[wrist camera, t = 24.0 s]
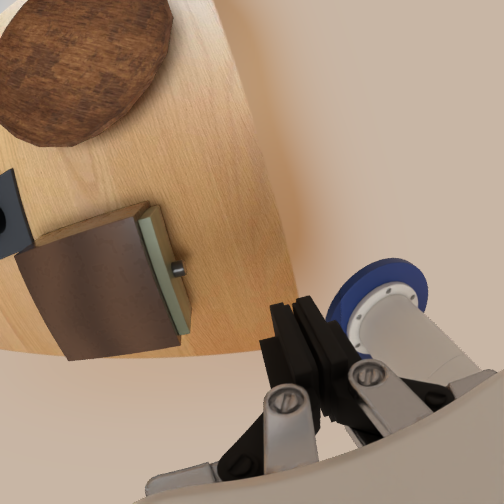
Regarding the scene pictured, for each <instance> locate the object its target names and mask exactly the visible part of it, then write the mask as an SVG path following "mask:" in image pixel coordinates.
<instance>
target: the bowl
mask: <svg viewBox="0 0 504 504" xmlns="http://www.w3.org/2000/svg"><path fill="white" fill-rule="evenodd" d="M172 22H173V15H172V13H171V10H170V7H169V4H168V1H167V0H28V1H27V2H26V3H25V4H24V5H23V6H22V7H21V8H20V10H19V11H18V12H17V13H16V15H15V16H14V17H13V19H12V20H11V22H10V23H9V24H8V26H7V27H6V29H5V30H4V32H3V34H2V36H1V38H0V124H1V125H2V126H3V127H4V128H5V129H7V130H8V131H9V132H10V133H11V134H12V135H14V136H15V137H16V138H18V139H21V140H23V141H26V142H28V143H31V144H33V145H36V146H38V147H72V146H74V145H77V144H79V143H81V142H83V141H85V140H87V139H90V138H92V137H94V136H96V135H99V134H101V133H102V132H103V131H105V130H106V129H107V128H108V127H110V126H111V125H112V124H114V123H115V122H116V121H118V120H119V119H120V118H122V117H123V116H124V115H126V114H127V112H128V111H129V110H130V108H131V107H132V106H133V105H134V103H135V102H136V101H137V100H138V99H139V97H140V96H141V95H142V94H143V93H144V91H145V90H146V89H147V88H148V87H149V86H150V84H151V82H152V80H153V78H154V76H155V75H156V73H157V71H158V69H159V67H160V65H161V63H162V62H163V60H164V58H165V56H166V54H167V52H168V46H169V39H170V33H171V28H172Z"/></svg>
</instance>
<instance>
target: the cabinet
mask: <svg viewBox="0 0 504 504" xmlns="http://www.w3.org/2000/svg"><path fill="white" fill-rule="evenodd" d="M148 208H150V204H149V201H145V202H141V203H138V204H134V205H131V206H128V207H124V208H121V209H118V210H115V211H111V212H108V213H105V214H102V215H99V216H96V217H93V218H90V219H87V220H84V221H81V222H78V223H75V224H72V225H69V226H67V227H64V228H61V229H58V230H56V231H53V232H50V233H47V234H45V235H42V236H41V237H40V238H38V239H37V240H35V241H34V242H33V243H31V244H30V245H28V246H27V247H26V248H24V249H23V250H22V251H20V252H19V253H17V254H16V255H15V256H14V258H15V260H16V263H17V265H18V268H19V270H20V272H21V275H22V277H23V279H24V282H25V284H26V286H27V288H28V290H29V292H30V294H31V296H32V299H33V301H34V303H35V305H36V306H37V308H38V310H39V312H40V314H41V316H42V318H43V320H44V322H45V323H46V325H47V327H48V329H49V330H50V332H51V334H52V336H53V337H54V339H55V341H56V342H57V344H58V345H59V347H60V349H61V350H62V352H63V353H64V355H65V357H66V358H67V360H68V361H75V360H85V359H94V358H103V357H111V356H118V355H125V354H132V353H139V352H145V351H152V350H158V349H164V348H169V347H175V346H180V345H181V335H179V333H178V331H177V328H176V326H175V324H174V321H173V319H172V316H171V314H170V311H168V308H167V306H166V303H165V301H164V298H163V295H162V293H161V290H160V287H159V285H158V282H157V279H156V277H155V274H154V271H153V268H152V265H151V263H150V260H149V257H148V254H147V251H146V248H145V245H144V242H143V239H142V235H141V232H140V229H139V226H138V223H137V222H138V219H139V218H140V217H141V216H142V215H143V214H144V213H145V211H146V210H147V209H148Z"/></svg>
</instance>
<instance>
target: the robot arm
mask: <svg viewBox="0 0 504 504" xmlns="http://www.w3.org/2000/svg"><path fill="white" fill-rule="evenodd" d="M292 307H293V312H292V310H291V308H290V306H289V304H288V305H284V304H283V302H282V303H278V304H273V305H270V311H271V316H272V321H273V327H274V332H275V337H272V338H267V339H263V340H259V342H260V346H261V350H262V354H263V359H264V363H265V367H266V371H267V375H268V379H269V383H270V387H271V390H270V391H269V392H268V393H267V394H266V396H265V397H264V402H263V413H262V414H261V415H260V416H259V418H258V419H257V420H256V421H255V422H254V423H253V424H252V425H251V427H250V428H249V429H248V430H247V431H246V432H245V433H244V434H243V435H242V436H241V438H239V440H238V441H237V442H236V443H235V444H234V445H233V446H232V447H231V448H230V449H229V450H228V451H227V452H226V453H225V454H224V455H223V456H222V458H221V459H220V460H219V461H218V462H214V463H211V464H209V463H208V462H206V463H203V464H200V465H196V466H193V467H189V468H185V469H182V470H178V471H174V472H169V473H165V474H160V475H157V476H155V477H152V478H151V479H150V480H149V481H148V482H147V484H146V486H145V494H146V497H145V498H142V499H140V500H138V501H136V502H134V503H133V504H504V370H502V371H500V372H496V371H494V370H490V369H488V370H483V371H482V370H481V369H480V368H479V367H478V366H477V365H476V364H475V363H474V362H473V361H472V360H471V359H470V358H469V357H468V356H467V355H466V354H465V353H464V352H463V351H462V350H461V349H460V348H459V347H458V346H457V345H456V344H455V343H454V342H453V341H452V340H451V339H450V338H449V337H448V336H447V335H446V334H445V333H444V332H443V331H442V330H441V329H440V328H439V327H438V326H437V325H436V324H435V323H434V322H433V321H431V319H429V318H428V317H427V316H426V315H425V314H424V313H423V312H422V311H421V310H420V309H419V308H418V298H417V295H416V292H415V291H414V290H413V289H412V288H411V287H410V286H409V285H407V284H405V283H403V282H398V281H396V282H389V283H385V284H383V285H381V286H379V287H377V288H375V289H374V290H372V291H371V292H369V293H368V294H367V295H366V296H365V297H364V298H363V299H362V300H361V301H360V302H359V303H358V305H357V306H356V307H355V309H354V310H353V312H352V314H351V316H350V318H349V322H348V325H347V335H346V334H345V332H344V331H343V329H342V328H341V326H340V325H339V323H338V322H337V321H336V320H334V321H331V322H326V321H325V319H324V318H323V316H322V314H321V313H320V311H319V309H318V308H317V306H316V305H315V303H314V301H313V300H312V298H311V297H310V296H305V297H301V298H297V299H296V303H293V304H292ZM357 351H358V352H360V353H363V354H370V355H371V356H372V358H373V359H363V360H362V359H361V357H360V355H359V354H358V352H357ZM320 408H321V411H322V413H323V415H324V417H326V416H329V418H330V420H331V422H334V421H336V422H337V423H340V424H342V425H345V429H346V431H347V432H348V434H349V435H350V437H351V438H352V440H353V441H354V442H355V444H356V445H357V447H358V449H355V450H353V451H350V452H347V453H344V454H341V455H339V456H335V457H332V458H329V459H326V460H323V461H320V462H319V459H318V452H317V446H316V438H315V435H316V434H317V432H318V431H319V429H320V417H321V416H320Z"/></svg>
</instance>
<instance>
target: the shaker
mask: <svg viewBox="0 0 504 504" xmlns="http://www.w3.org/2000/svg"><path fill="white" fill-rule="evenodd" d="M5 227H6V218H5V214H4V212H3V210H2V209H1V208H0V234H2V233H3V232H4V230H5Z"/></svg>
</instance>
